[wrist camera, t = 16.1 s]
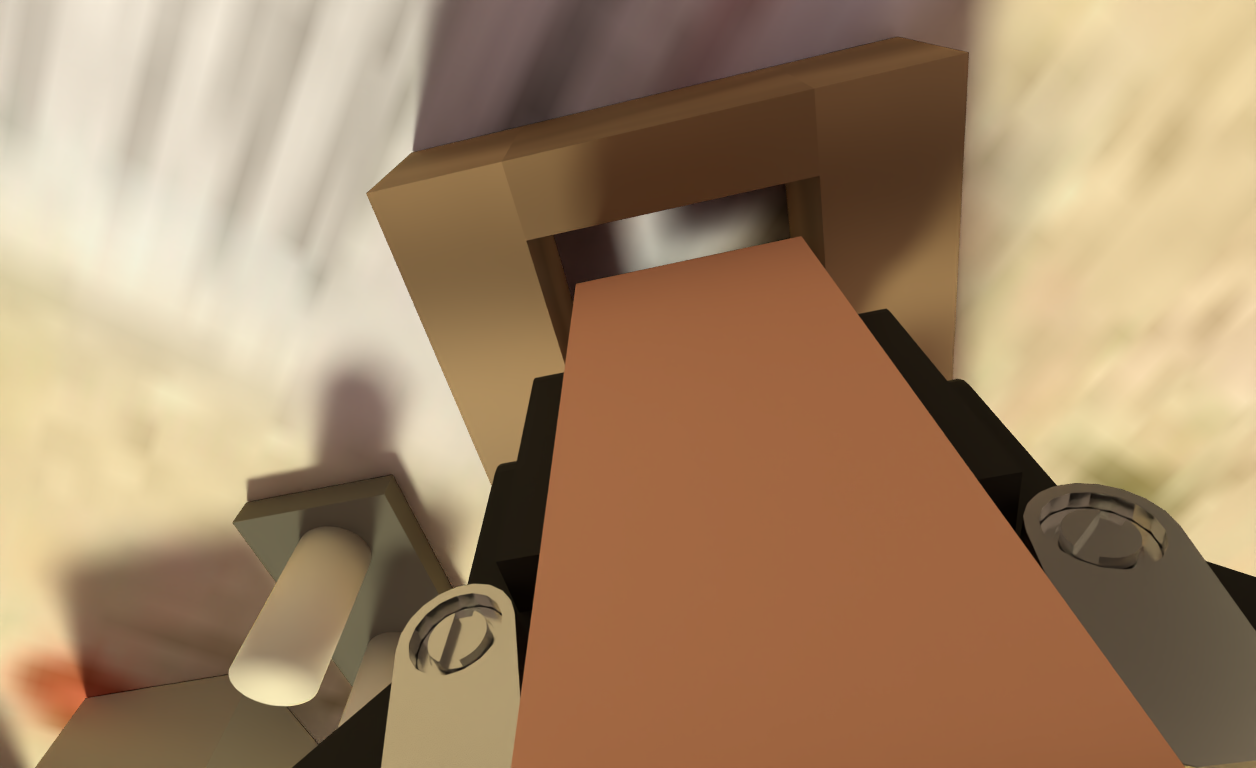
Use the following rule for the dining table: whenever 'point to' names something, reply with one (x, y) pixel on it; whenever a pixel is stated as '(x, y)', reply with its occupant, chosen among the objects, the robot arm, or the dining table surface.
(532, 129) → the socket board
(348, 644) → the pin plate
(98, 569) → the dining table surface
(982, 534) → the peg
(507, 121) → the dining table surface
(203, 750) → the housing
